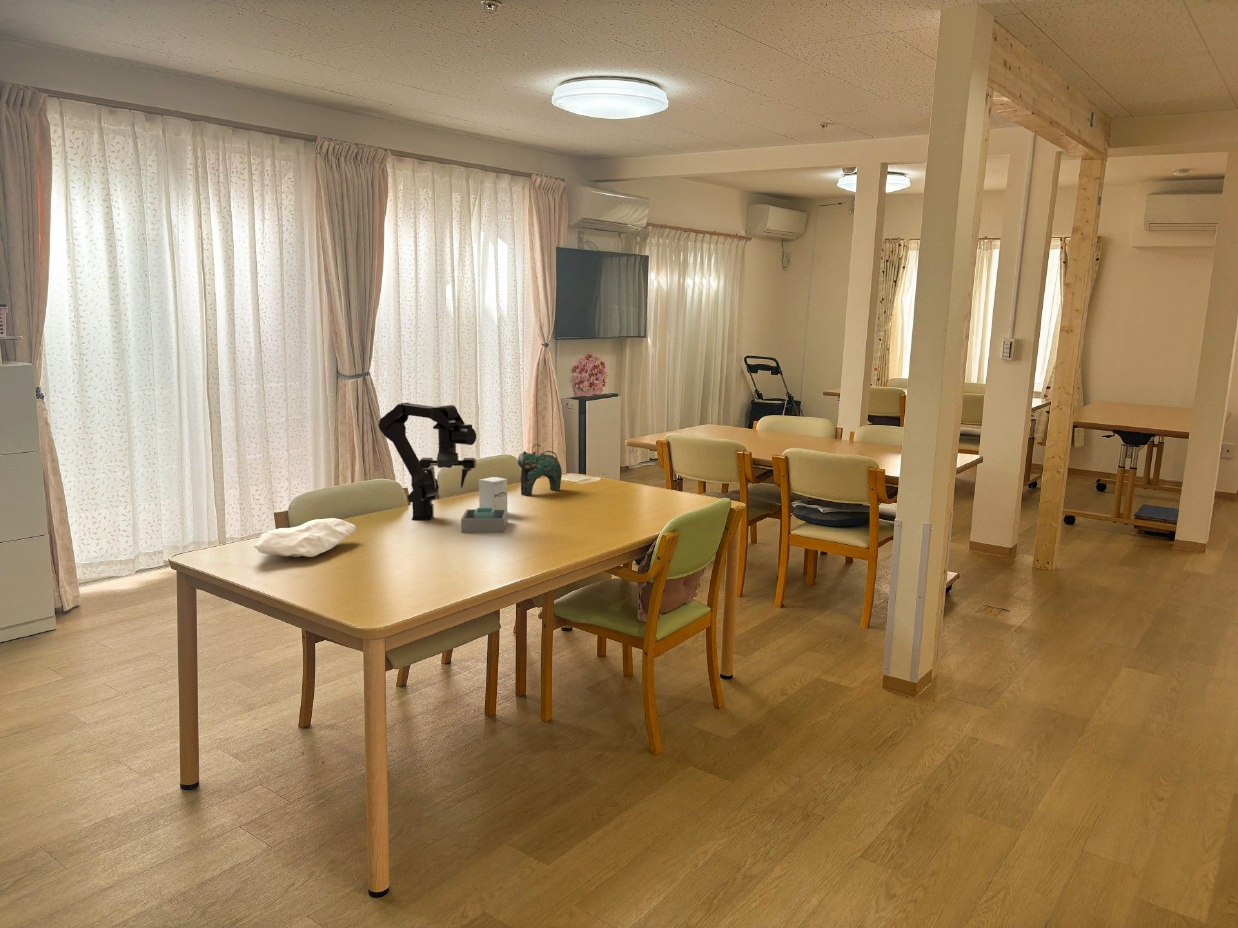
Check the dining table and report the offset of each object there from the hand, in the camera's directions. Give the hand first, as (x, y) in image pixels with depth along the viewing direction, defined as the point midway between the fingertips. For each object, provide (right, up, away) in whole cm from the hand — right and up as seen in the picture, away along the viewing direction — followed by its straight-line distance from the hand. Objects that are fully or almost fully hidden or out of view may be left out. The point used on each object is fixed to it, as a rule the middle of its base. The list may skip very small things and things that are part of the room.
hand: (448, 487), depth 300 cm
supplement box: (+13, -10, +16) cm, 23 cm away
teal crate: (+13, -12, -4) cm, 18 cm away
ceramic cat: (+27, -4, +52) cm, 58 cm away
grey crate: (+13, -13, -4) cm, 19 cm away
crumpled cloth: (-37, -18, -36) cm, 54 cm away
